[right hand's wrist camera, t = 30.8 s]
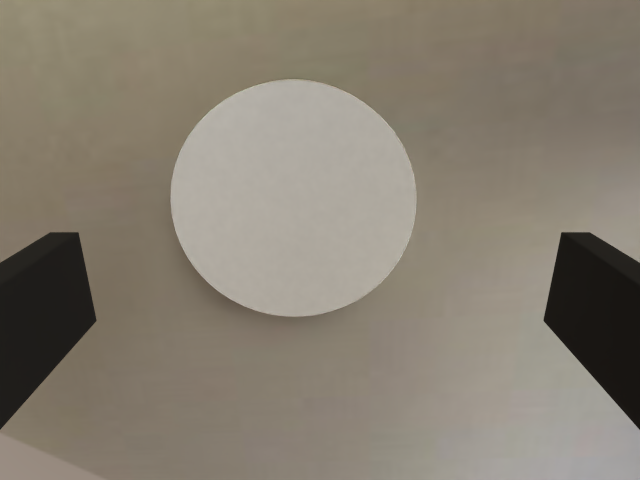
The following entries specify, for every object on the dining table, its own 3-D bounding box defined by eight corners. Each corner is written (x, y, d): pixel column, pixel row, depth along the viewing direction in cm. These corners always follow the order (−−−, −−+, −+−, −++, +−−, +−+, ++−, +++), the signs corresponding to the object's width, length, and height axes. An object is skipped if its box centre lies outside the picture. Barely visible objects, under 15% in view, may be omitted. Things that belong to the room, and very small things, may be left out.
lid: (198, 51, 18) (187, 49, 16) (438, 111, 19) (450, 116, 17) (169, 275, 21) (157, 293, 19) (372, 315, 22) (378, 335, 20)
